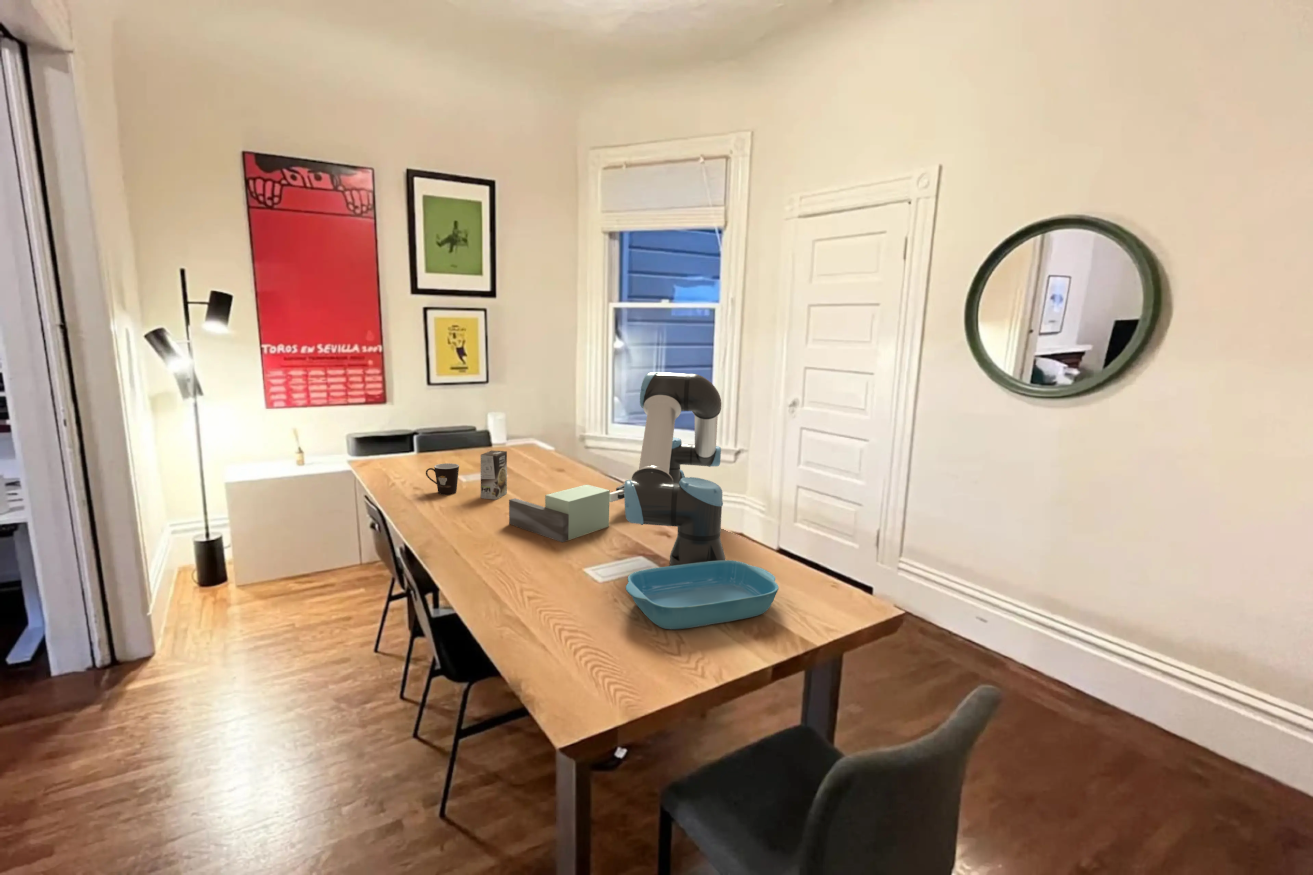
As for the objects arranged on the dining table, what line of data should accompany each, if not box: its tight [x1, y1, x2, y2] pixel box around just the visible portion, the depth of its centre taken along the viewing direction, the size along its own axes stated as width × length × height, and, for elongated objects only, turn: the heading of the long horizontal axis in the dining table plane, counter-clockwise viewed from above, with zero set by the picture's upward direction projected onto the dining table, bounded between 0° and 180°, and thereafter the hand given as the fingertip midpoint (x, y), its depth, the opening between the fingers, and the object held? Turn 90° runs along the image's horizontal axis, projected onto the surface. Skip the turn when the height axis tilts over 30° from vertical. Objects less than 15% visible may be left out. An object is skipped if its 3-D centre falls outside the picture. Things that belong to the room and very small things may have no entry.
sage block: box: [544, 484, 611, 541], centre depth 197 cm, size 18×10×12 cm, turn 142°
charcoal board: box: [508, 497, 569, 543], centre depth 193 cm, size 2×24×8 cm, turn 52°
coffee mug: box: [425, 463, 460, 496], centre depth 233 cm, size 12×9×10 cm
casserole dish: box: [625, 559, 780, 630], centre depth 146 cm, size 37×22×7 cm, turn 115°
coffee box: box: [480, 449, 508, 501], centre depth 229 cm, size 9×6×16 cm
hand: (609, 497), depth 208 cm, fingers closed
